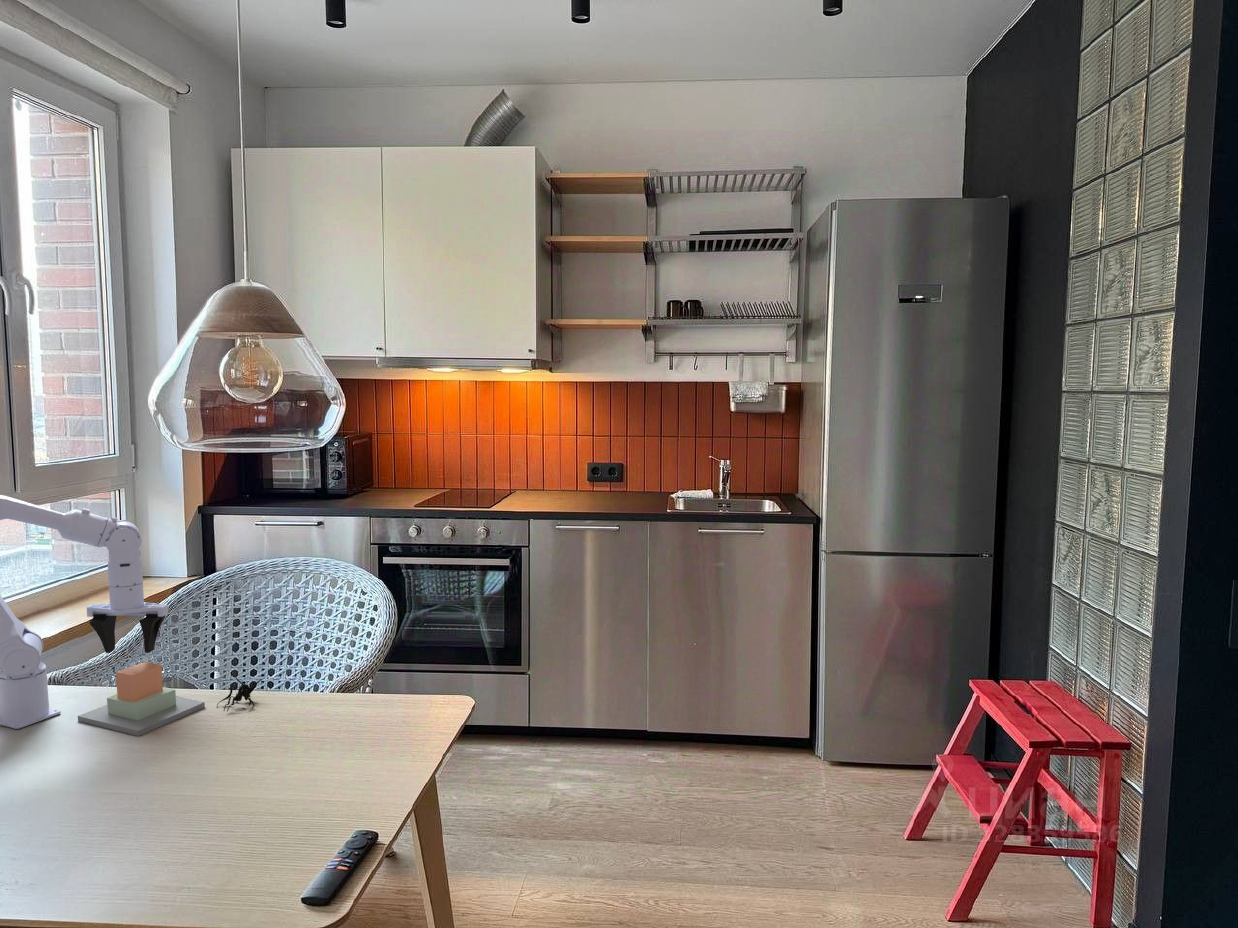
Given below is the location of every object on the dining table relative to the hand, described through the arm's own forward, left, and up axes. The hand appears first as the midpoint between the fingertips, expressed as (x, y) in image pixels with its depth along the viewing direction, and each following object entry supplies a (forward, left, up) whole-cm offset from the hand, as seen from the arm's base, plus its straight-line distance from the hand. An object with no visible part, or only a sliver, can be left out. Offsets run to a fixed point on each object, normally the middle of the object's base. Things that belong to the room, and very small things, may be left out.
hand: (130, 651), depth 162 cm
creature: (+22, +6, -10) cm, 25 cm away
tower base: (+8, -4, -10) cm, 13 cm away
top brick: (+8, -4, -6) cm, 11 cm away
